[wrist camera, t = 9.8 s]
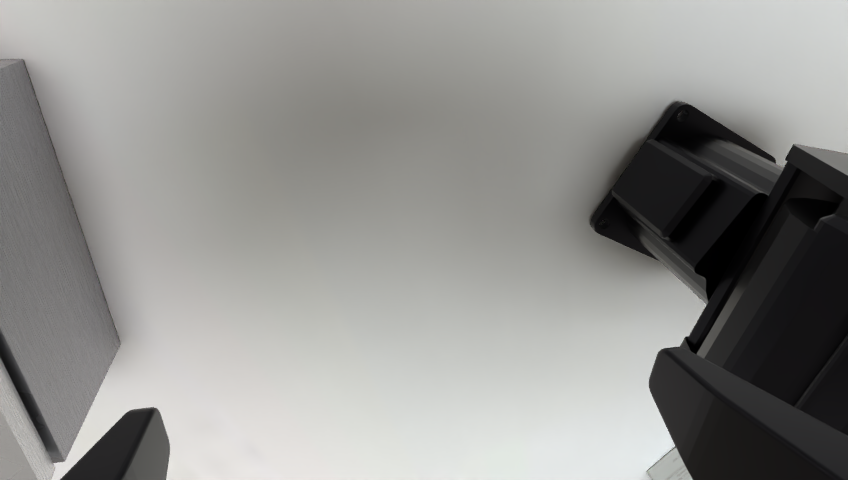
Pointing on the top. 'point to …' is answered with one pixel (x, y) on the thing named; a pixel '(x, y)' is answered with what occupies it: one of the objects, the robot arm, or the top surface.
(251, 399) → the top surface
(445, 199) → the top surface
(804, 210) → the robot arm
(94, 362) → the grey open box
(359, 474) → the top surface
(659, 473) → the skincare box
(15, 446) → the tabbed silver plate
